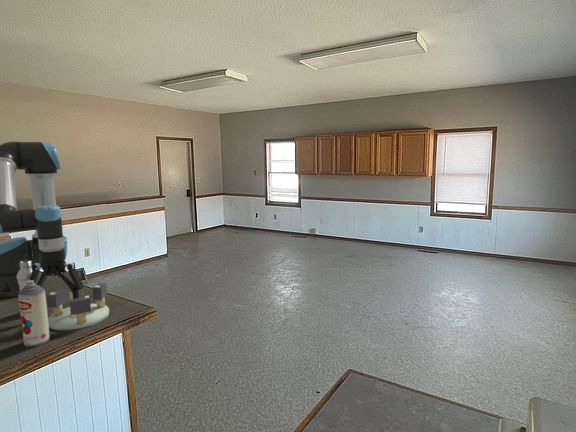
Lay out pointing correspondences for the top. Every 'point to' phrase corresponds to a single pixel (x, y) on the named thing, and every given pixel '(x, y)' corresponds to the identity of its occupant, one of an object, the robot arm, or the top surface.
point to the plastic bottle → (24, 273)
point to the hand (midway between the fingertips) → (57, 308)
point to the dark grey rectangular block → (57, 301)
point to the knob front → (80, 308)
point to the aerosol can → (34, 315)
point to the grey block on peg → (100, 294)
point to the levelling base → (70, 321)
